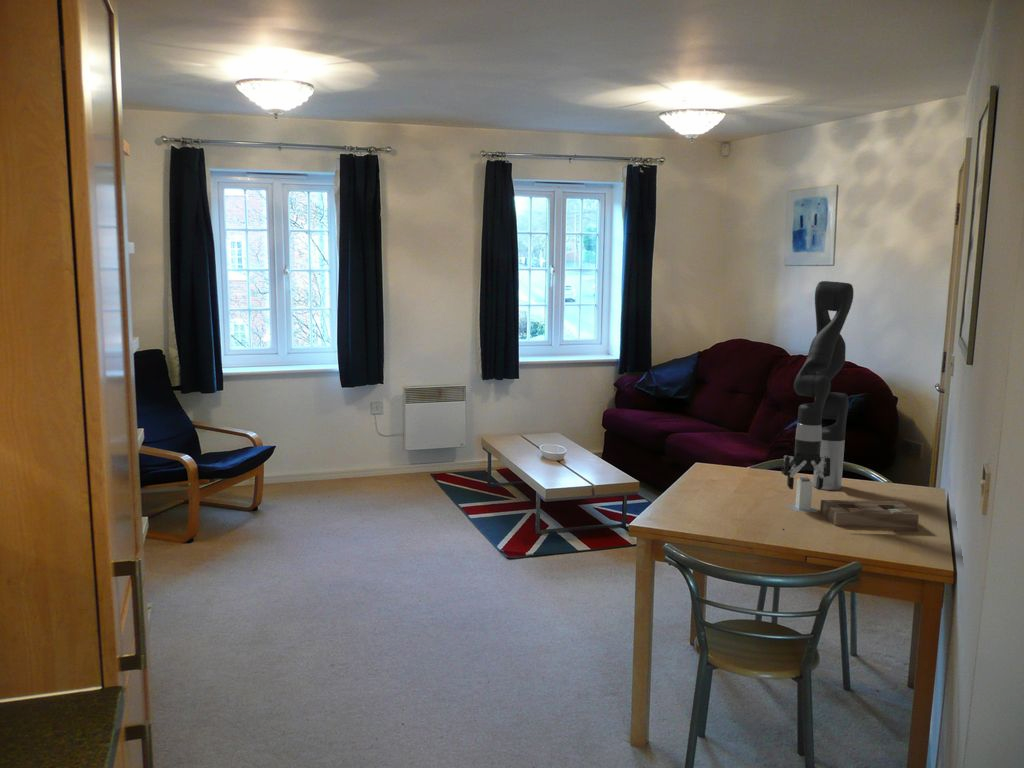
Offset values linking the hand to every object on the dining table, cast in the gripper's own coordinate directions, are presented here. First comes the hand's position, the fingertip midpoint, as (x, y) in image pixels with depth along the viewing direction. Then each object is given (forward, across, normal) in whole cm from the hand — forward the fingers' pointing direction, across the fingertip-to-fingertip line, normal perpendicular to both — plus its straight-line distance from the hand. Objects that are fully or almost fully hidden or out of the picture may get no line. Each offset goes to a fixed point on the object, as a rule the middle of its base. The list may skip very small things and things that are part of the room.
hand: (804, 489), depth 265 cm
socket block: (+7, -16, +10) cm, 20 cm away
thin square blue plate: (+7, 0, 0) cm, 7 cm away
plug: (+6, 0, 0) cm, 6 cm away
